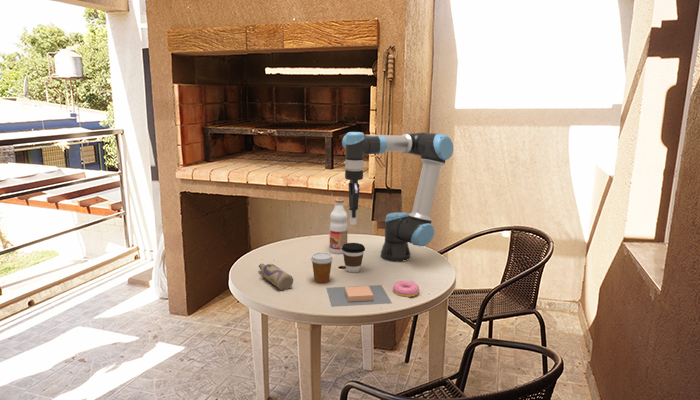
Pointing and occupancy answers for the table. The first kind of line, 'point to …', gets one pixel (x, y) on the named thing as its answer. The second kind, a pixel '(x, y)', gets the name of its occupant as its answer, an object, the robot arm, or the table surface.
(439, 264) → the table surface
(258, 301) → the table surface
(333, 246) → the fruit juice
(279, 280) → the decorative bottle
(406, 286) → the doughnut
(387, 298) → the mat
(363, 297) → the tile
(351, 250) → the coffee cup
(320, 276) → the disposable coffee cup
